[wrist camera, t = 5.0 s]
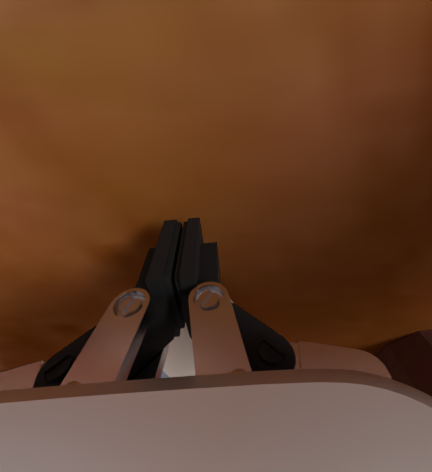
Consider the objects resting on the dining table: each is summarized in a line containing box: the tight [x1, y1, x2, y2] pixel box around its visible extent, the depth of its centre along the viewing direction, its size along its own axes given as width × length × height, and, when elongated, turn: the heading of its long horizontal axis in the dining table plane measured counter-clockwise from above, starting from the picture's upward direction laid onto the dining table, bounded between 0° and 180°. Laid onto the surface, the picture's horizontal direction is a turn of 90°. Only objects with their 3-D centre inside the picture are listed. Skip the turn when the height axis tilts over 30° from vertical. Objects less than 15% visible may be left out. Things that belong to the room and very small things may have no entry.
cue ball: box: [163, 299, 233, 377], centre depth 13 cm, size 6×6×6 cm
